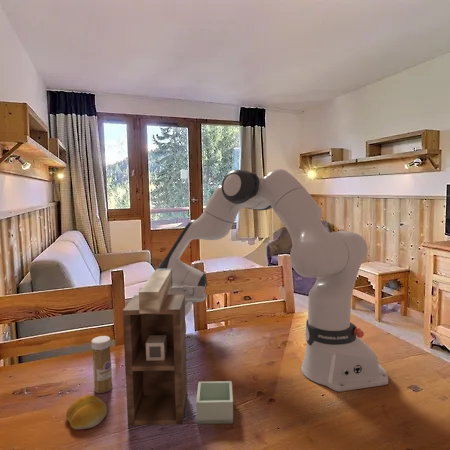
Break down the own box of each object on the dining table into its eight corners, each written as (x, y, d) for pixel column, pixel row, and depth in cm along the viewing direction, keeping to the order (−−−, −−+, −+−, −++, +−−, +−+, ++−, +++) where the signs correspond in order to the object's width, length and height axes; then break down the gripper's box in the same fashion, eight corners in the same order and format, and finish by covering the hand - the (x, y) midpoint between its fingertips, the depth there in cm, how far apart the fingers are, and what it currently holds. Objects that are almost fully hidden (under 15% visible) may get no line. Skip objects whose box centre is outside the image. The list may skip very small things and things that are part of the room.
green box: (231, 400, 83) (231, 381, 83) (233, 423, 75) (232, 401, 75) (198, 401, 83) (198, 381, 83) (196, 423, 75) (196, 402, 75)
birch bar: (172, 285, 90) (172, 268, 90) (159, 313, 70) (158, 291, 70) (157, 285, 90) (156, 268, 90) (139, 313, 70) (138, 292, 70)
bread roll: (75, 437, 72) (74, 419, 72) (63, 416, 79) (61, 399, 78) (113, 419, 77) (113, 402, 77) (98, 401, 84) (97, 385, 84)
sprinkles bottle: (105, 395, 86) (102, 344, 85) (90, 392, 87) (87, 341, 86) (116, 385, 90) (113, 336, 89) (101, 382, 92) (99, 334, 90)
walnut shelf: (187, 396, 85) (184, 294, 82) (182, 424, 75) (179, 309, 72) (138, 397, 85) (134, 295, 82) (127, 425, 75) (122, 310, 72)
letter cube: (167, 351, 80) (166, 335, 80) (164, 360, 76) (163, 343, 76) (150, 351, 80) (149, 335, 80) (146, 360, 76) (145, 343, 76)
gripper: (207, 307, 111) (205, 298, 99) (144, 309, 111) (133, 300, 98) (207, 288, 114) (205, 277, 101) (145, 289, 114) (135, 278, 101)
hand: (169, 288), depth 100 cm, fingers open, 8 cm apart
